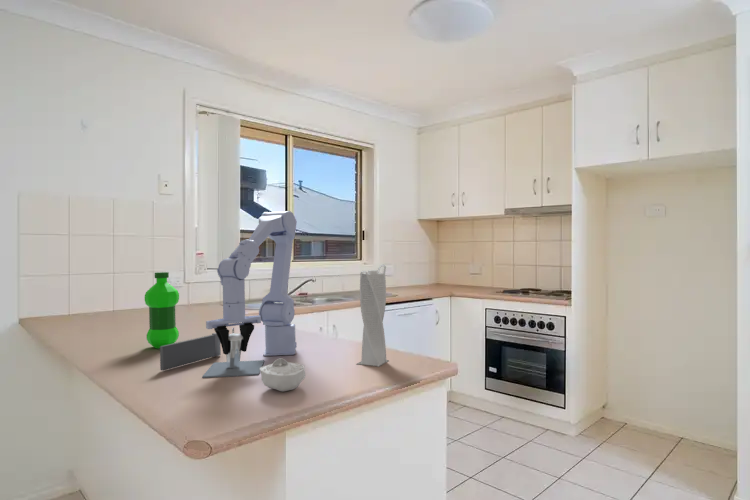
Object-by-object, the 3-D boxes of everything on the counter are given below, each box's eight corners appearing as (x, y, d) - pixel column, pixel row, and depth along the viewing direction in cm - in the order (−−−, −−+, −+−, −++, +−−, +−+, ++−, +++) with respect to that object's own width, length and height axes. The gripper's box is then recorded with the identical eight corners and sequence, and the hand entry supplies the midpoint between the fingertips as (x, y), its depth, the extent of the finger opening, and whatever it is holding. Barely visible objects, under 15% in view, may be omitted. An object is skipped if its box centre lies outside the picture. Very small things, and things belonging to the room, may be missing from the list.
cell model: (265, 400, 99) (265, 369, 99) (256, 385, 110) (256, 357, 110) (311, 393, 103) (310, 363, 103) (298, 379, 114) (297, 352, 114)
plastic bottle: (157, 343, 160) (156, 271, 160) (185, 343, 159) (184, 271, 158) (139, 349, 150) (137, 273, 150) (168, 350, 149) (167, 273, 148)
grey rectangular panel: (222, 354, 140) (221, 333, 140) (164, 370, 123) (164, 346, 122) (216, 353, 141) (216, 332, 141) (159, 369, 124) (158, 345, 124)
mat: (264, 361, 132) (264, 360, 132) (258, 375, 119) (258, 373, 119) (213, 363, 131) (213, 362, 131) (202, 377, 117) (202, 376, 117)
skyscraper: (393, 362, 131) (392, 264, 130) (382, 369, 123) (380, 265, 123) (367, 359, 134) (365, 263, 134) (354, 366, 127) (352, 265, 127)
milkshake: (239, 362, 129) (241, 327, 128) (242, 368, 124) (244, 332, 123) (222, 363, 127) (224, 328, 126) (225, 369, 122) (227, 332, 122)
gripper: (253, 298, 132) (254, 346, 132) (202, 303, 123) (203, 353, 123) (263, 301, 126) (264, 350, 126) (210, 305, 118) (211, 358, 118)
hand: (234, 352), depth 125 cm, fingers closed on milkshake, 4 cm apart
